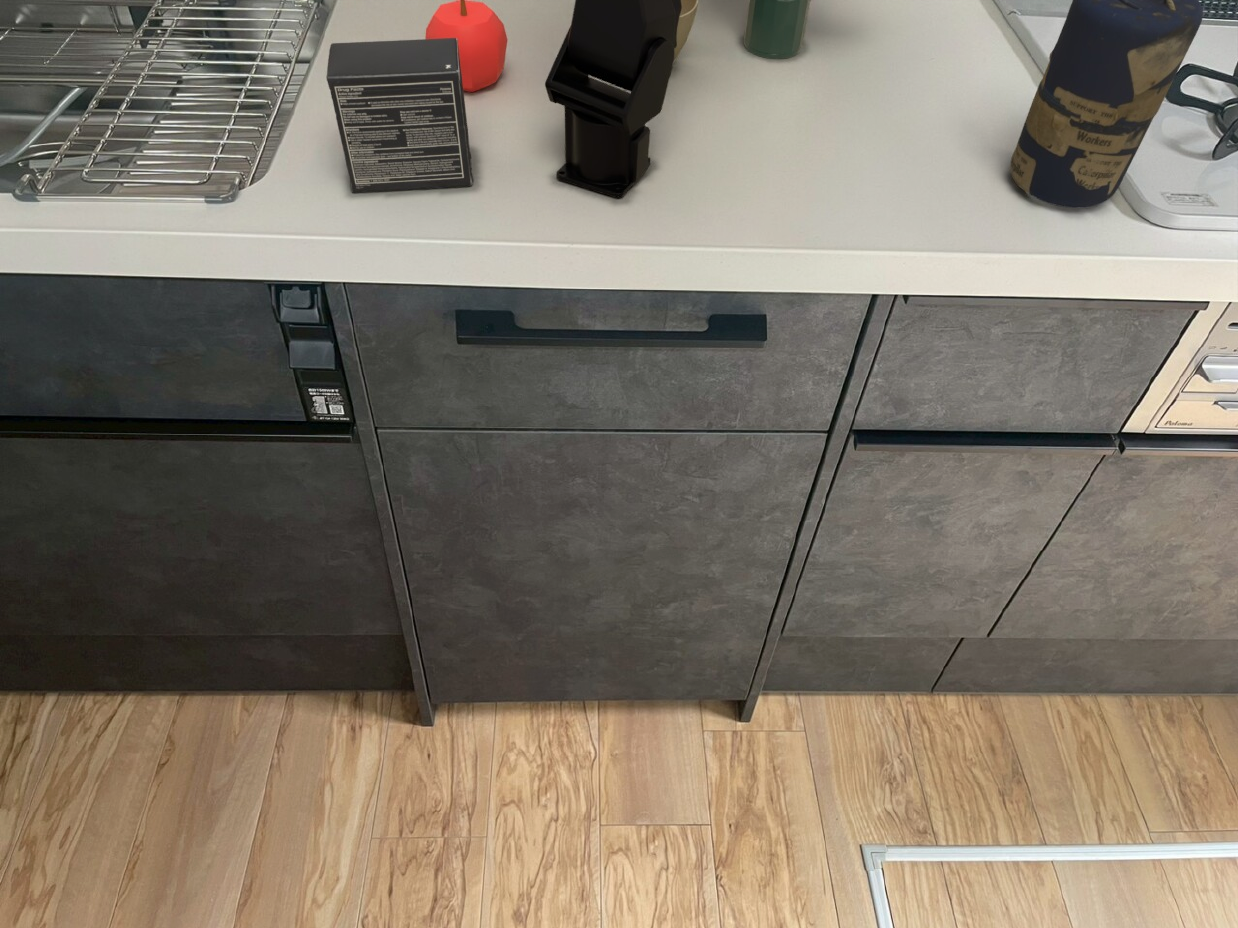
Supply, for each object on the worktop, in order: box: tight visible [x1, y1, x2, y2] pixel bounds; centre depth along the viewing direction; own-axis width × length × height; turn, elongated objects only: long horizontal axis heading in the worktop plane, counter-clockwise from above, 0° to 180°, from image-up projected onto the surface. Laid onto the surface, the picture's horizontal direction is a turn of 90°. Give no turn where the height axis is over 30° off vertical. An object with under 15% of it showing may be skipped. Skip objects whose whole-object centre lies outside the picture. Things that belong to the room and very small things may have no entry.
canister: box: [1009, 0, 1204, 209], centre depth 78 cm, size 10×10×18 cm
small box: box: [325, 38, 474, 194], centre depth 79 cm, size 11×6×10 cm, turn 98°
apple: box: [424, 0, 509, 93], centre depth 91 cm, size 8×8×8 cm
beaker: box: [743, 0, 812, 60], centre depth 98 cm, size 6×6×6 cm
